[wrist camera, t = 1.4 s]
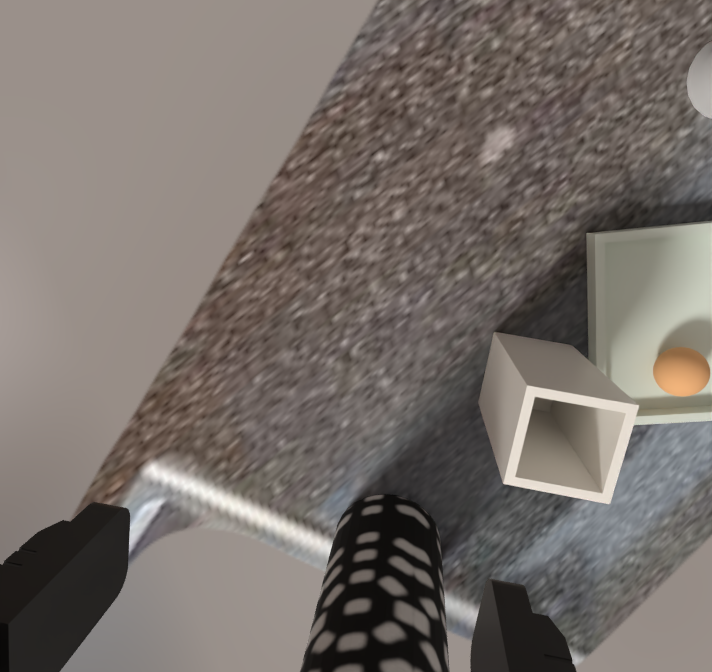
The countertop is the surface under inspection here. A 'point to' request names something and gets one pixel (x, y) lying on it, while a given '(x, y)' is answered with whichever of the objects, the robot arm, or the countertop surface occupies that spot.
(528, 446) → the cup
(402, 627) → the white-spotted black cylinder
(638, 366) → the tray
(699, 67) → the chalice
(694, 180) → the countertop surface
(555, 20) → the countertop surface
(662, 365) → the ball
